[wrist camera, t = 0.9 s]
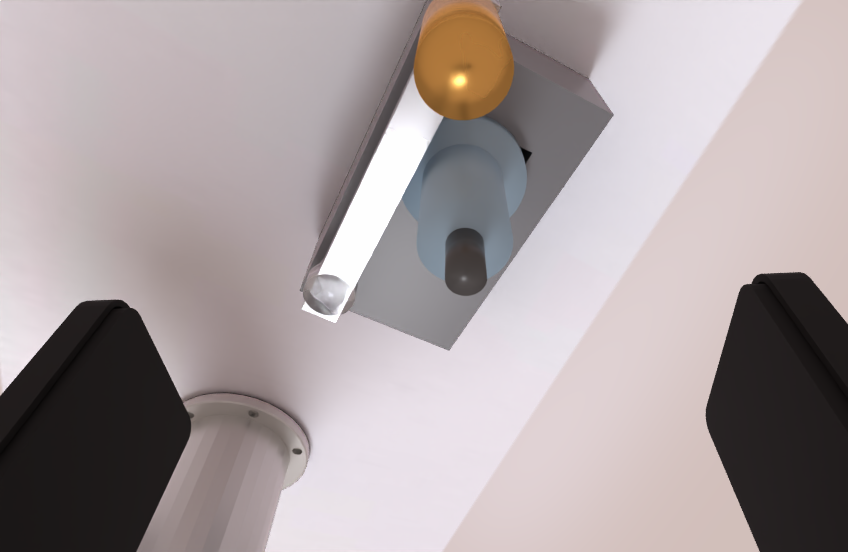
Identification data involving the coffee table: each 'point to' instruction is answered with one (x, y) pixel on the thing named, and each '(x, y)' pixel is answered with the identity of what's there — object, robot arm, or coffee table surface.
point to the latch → (415, 135)
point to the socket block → (546, 176)
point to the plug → (467, 201)
